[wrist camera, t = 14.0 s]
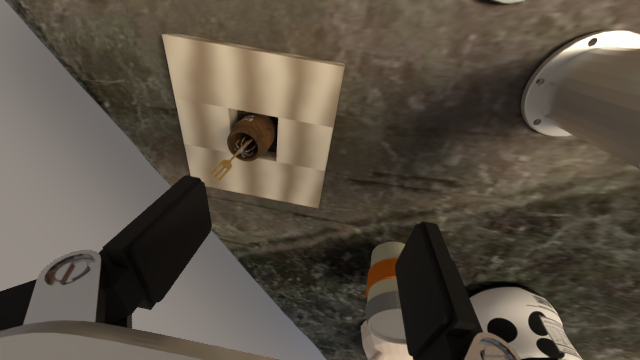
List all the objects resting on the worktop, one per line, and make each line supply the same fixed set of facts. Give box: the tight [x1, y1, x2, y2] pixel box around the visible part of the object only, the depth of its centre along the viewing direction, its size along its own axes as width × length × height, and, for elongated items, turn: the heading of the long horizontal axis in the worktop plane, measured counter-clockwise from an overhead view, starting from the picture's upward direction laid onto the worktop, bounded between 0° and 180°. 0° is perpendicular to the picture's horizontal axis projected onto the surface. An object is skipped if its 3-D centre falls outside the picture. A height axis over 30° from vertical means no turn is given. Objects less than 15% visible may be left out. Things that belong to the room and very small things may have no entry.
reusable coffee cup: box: [365, 242, 407, 345], centre depth 46 cm, size 13×12×15 cm
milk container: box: [469, 285, 582, 360], centre depth 48 cm, size 17×17×18 cm
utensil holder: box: [210, 113, 276, 181], centre depth 34 cm, size 6×6×12 cm
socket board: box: [162, 33, 345, 208], centre depth 38 cm, size 24×24×3 cm
